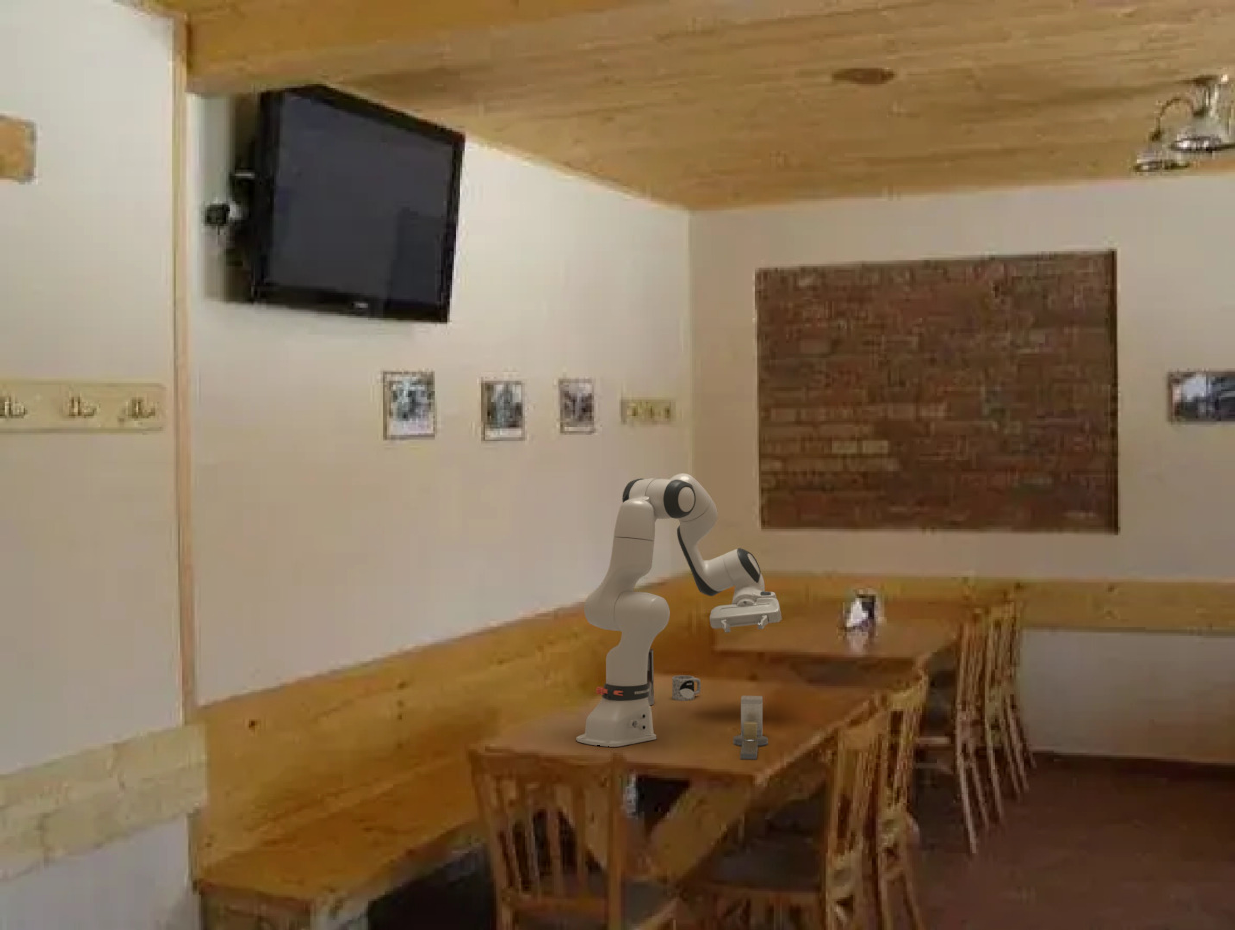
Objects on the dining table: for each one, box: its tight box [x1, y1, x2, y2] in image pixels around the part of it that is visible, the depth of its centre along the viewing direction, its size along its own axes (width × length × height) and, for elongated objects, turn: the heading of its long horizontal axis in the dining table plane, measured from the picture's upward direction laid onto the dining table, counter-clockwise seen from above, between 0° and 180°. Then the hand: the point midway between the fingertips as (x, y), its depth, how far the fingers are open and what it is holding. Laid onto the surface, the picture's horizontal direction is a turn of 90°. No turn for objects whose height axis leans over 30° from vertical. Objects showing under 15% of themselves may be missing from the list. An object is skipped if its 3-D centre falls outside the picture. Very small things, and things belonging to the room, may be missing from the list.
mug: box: [671, 674, 702, 702], centre depth 465 cm, size 10×7×7 cm
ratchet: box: [733, 722, 769, 761], centre depth 392 cm, size 24×9×6 cm, turn 173°
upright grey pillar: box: [740, 695, 763, 736], centre depth 409 cm, size 6×6×10 cm
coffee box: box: [647, 648, 655, 706], centre depth 456 cm, size 9×6×16 cm
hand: (743, 628), depth 424 cm, fingers open, 8 cm apart
